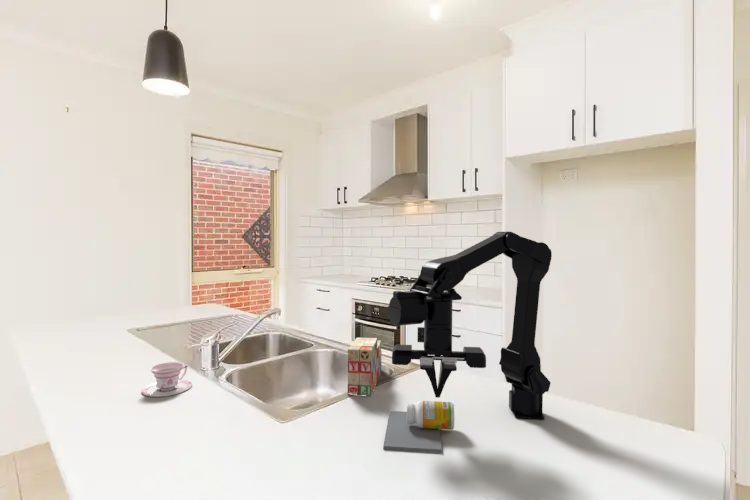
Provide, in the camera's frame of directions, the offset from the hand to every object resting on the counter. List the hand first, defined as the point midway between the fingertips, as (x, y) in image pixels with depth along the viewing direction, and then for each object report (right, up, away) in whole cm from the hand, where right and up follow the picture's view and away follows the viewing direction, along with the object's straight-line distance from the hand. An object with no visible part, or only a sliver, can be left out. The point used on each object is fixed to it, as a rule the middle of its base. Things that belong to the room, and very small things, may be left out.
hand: (437, 396), depth 84 cm
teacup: (-68, -7, +24) cm, 73 cm away
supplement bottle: (+4, -4, +1) cm, 6 cm away
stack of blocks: (-15, -7, +30) cm, 35 cm away
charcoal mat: (-5, -8, +1) cm, 9 cm away
